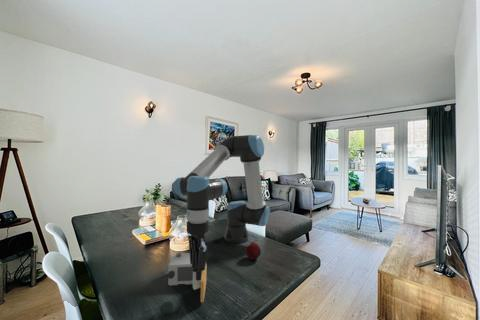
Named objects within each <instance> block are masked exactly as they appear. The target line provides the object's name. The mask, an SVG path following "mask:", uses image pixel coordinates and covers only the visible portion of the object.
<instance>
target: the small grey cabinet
mask: <svg viewBox="0 0 480 320" xmlns="http://www.w3.org/2000/svg"><path fill="white" fill-rule="evenodd" d="M167 267H168V268H167V269H168V274H167V279H168V280H167V281H168V285H169V286H179V285H178V284H185V285H193V268H192V264H190V252H178V253H173V255H172V257H171V259H170V261H169V264H168V266H167ZM202 272H203V271H202Z"/></svg>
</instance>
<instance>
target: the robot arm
mask: <svg viewBox="0 0 480 320" xmlns="http://www.w3.org/2000/svg"><path fill="white" fill-rule="evenodd" d="M264 154H265V144H264V141H263V139H262V137H261V136H259V135H256V134H255V135H254V134H247V135H246V134H245V135H233V136H229V137H227V138H225V139H224V140H222V141H220V142H219V143H218V144H216V145H215V147H214V149H213V151H212V152H210V154H208V156H207V157H206V158H204V159H203V160H202V161H201V162H200V163H199V164H198V165H196V167H194V169H193V170H192V171H190V173H188V174H187V175H186V176H185V177H182V176H181V177H178V178H176V179H175V180H174V181H173V185H172V186H173V187H172V189H173V191H174V193H175V194H176V195H178V196H183V197H186V212H185V216H186V221H187V222H186V233H187V234H188V235H187V239H188V248H189V249H188V250H189V252H188V253H190V264H192V268H193V284H192V289H193V290H194V291H195V290H198V289H201V278H202V271H203V270H205V264H207V256H208V250H209V244H208V245H206V237H205V235H206V233H208V231H209V219H210V208H209V207H210V205H209V204H210V203H209V201H212V200H214V199H215V200H216V199H219V198H221V197H223V196H225V194H226V193H227V191H228V185H227V182H226V181H225V180H224V179H222V178H210V177H211V176H212V175H213V174H214V172H215V171H216V170H218V168H219V167H220V166H221V165H222V164H223V162H224V161H227V160H229V159H230V158H239V159H240V162H241V164H243V170H244V177H245V186H246V193H247V195H246V196H247V202H246V200H236V201H231V202H229V203H228V204H227V207H226V209H227V210H226V217H227V218H226V219H227V221H226V222H227V223H226V224H227V225H226V229H225V232H224V240H225V242H228V243H230V244H231V243H232V244H242V243H246V242H247V241H249V233H248V232H249V231H248V229H247V225H251V226H258V227H265V226H267V224H268V222H269V219H270V216H271V215H270V214H271V208H270V206H268V205H267V203H266V201H265V200H264V199H263V198H264V197H263V188H262V180H261V179H262V178H261V170H260V169H261V168H260V161H261V160H262V157H263V156H264Z"/></svg>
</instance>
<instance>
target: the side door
mask: <svg viewBox="0 0 480 320" xmlns="http://www.w3.org/2000/svg"><path fill="white" fill-rule="evenodd" d="M207 265H208V264H207V263H206V264H205V270H203V272H202V278H201V287H200V303H204V301H205V295H206V287H207V282H208V281H207V278H208V277H207V276H208V273H207V271H208V269H207V267H208V266H207Z"/></svg>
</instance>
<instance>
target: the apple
mask: <svg viewBox="0 0 480 320" xmlns="http://www.w3.org/2000/svg"><path fill="white" fill-rule="evenodd" d="M261 253H262V250H261V247H260V245H259V244H258V243H256V242H254V241H252V242H251V243H250V244H248V245H247V246H246V247H245V254H246V256H247V257H246V258H248V259H250V260H251V261H253V260H257V259H258V258H259V257H260V256H261Z"/></svg>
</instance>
